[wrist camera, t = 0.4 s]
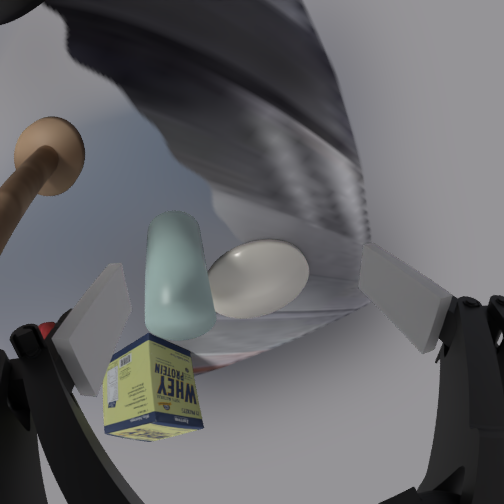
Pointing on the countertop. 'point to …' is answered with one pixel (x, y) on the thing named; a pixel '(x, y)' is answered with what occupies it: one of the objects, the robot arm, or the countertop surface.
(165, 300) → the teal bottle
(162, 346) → the protein box
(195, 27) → the countertop surface
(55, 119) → the walnut post
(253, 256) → the cream plate
